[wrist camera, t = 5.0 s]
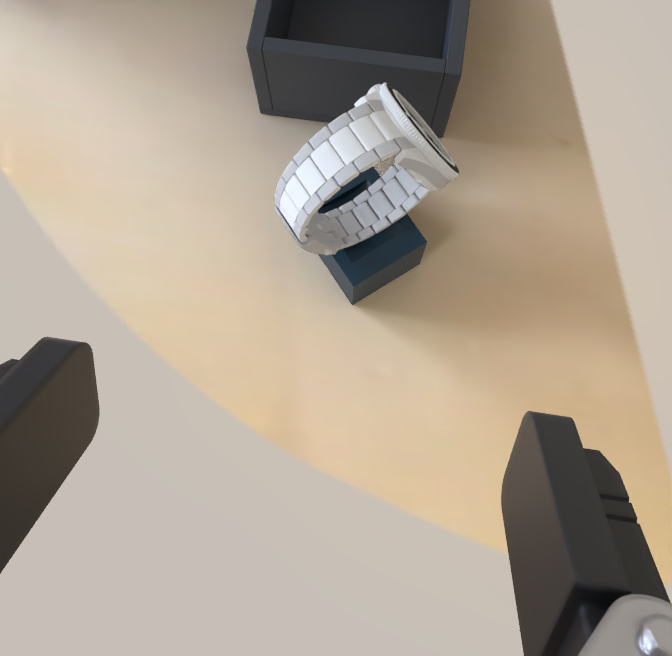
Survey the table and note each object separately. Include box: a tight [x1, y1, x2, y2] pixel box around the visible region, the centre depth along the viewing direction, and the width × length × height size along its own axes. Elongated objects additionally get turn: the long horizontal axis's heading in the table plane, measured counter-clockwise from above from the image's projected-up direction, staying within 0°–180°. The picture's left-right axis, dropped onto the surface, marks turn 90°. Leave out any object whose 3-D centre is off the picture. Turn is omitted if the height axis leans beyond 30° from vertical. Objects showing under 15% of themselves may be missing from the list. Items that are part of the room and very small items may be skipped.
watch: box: [274, 83, 460, 305], centre depth 28 cm, size 6×8×11 cm
